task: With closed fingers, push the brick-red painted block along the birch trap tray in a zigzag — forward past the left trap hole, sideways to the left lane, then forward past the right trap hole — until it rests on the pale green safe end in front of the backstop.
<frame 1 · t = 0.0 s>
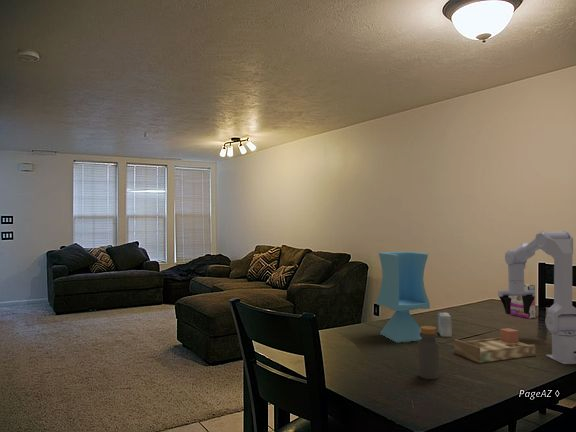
hand: (517, 313, 181), 10 cm above the table, fingers open, 7 cm apart
medicine box: (444, 335, 189), on the table
trap tray: (494, 354, 160), on the table
candy bar box: (522, 317, 223), on the table
brick block: (509, 341, 166), point 3 cm above the table, touching trap tray
bottle: (429, 376, 138), on the table
blue pedestal chair: (403, 338, 185), on the table
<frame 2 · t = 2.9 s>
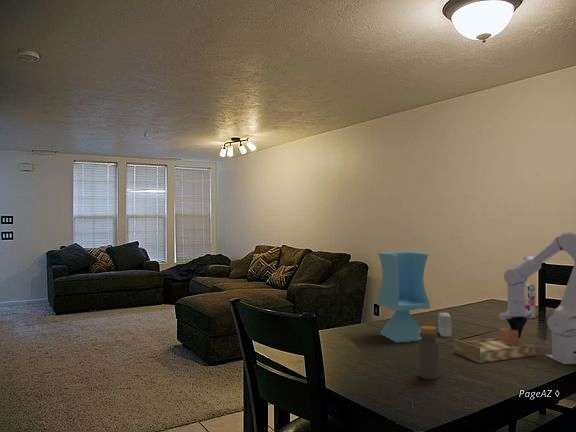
hand: (516, 337, 167), 4 cm above the table, fingers closed
brick block: (509, 341, 166), point 3 cm above the table, touching gripper, trap tray
everything else where it was.
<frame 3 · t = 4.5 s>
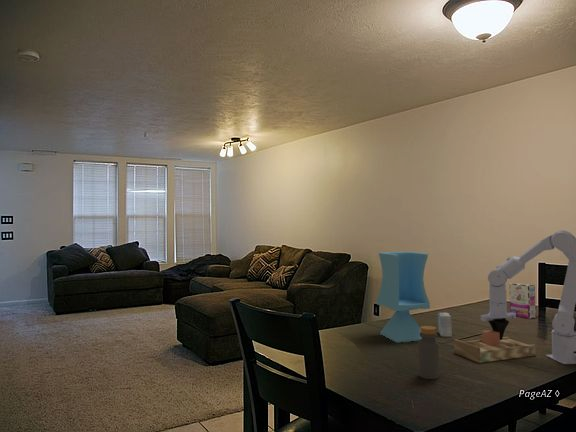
hand: (498, 339, 164), 4 cm above the table, fingers closed
brick block: (490, 343, 163), point 3 cm above the table, touching gripper
everything else where it was.
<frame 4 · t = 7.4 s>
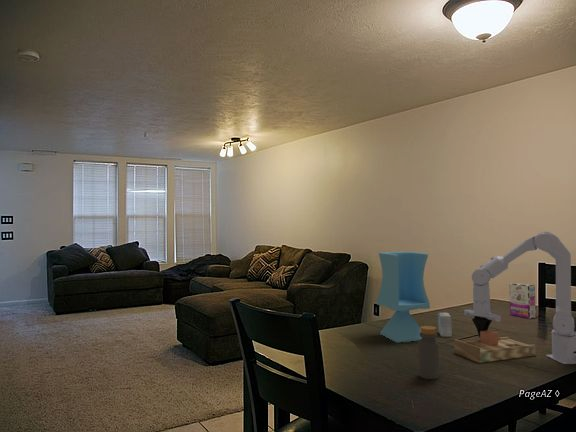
hand: (482, 337, 167), 4 cm above the table, fingers closed
nothing on the table moved.
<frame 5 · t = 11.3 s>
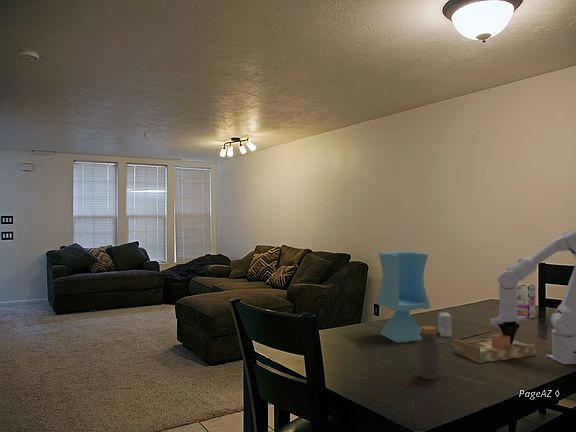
hand: (509, 343, 159), 4 cm above the table, fingers closed
brick block: (500, 347, 157), point 3 cm above the table, touching gripper, trap tray
everything else where it was.
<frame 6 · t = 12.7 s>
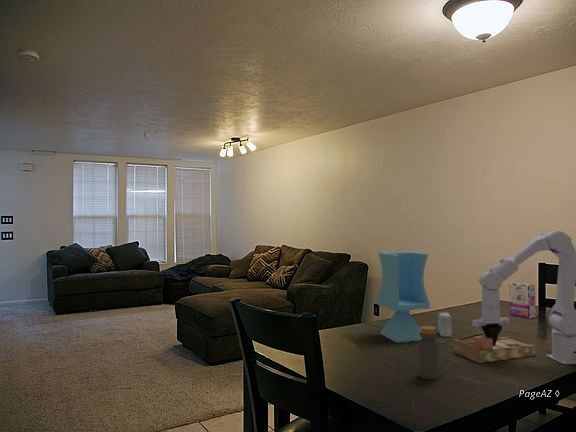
hand: (491, 345, 156), 4 cm above the table, fingers closed
brick block: (483, 349, 155), point 3 cm above the table, touching gripper, trap tray
everything else where it was.
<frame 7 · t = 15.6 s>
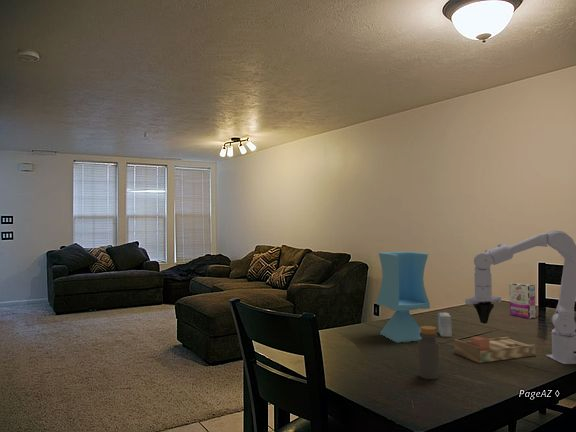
hand: (483, 322, 164), 10 cm above the table, fingers closed
brick block: (480, 350, 155), point 3 cm above the table, touching trap tray
everything else where it was.
at the end: brick block 1.4 cm from the target spot on the trap tray, point 3.0 cm above the trap tray's base; brick block tilted 0°; brick block moved 19.3 cm from its start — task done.
